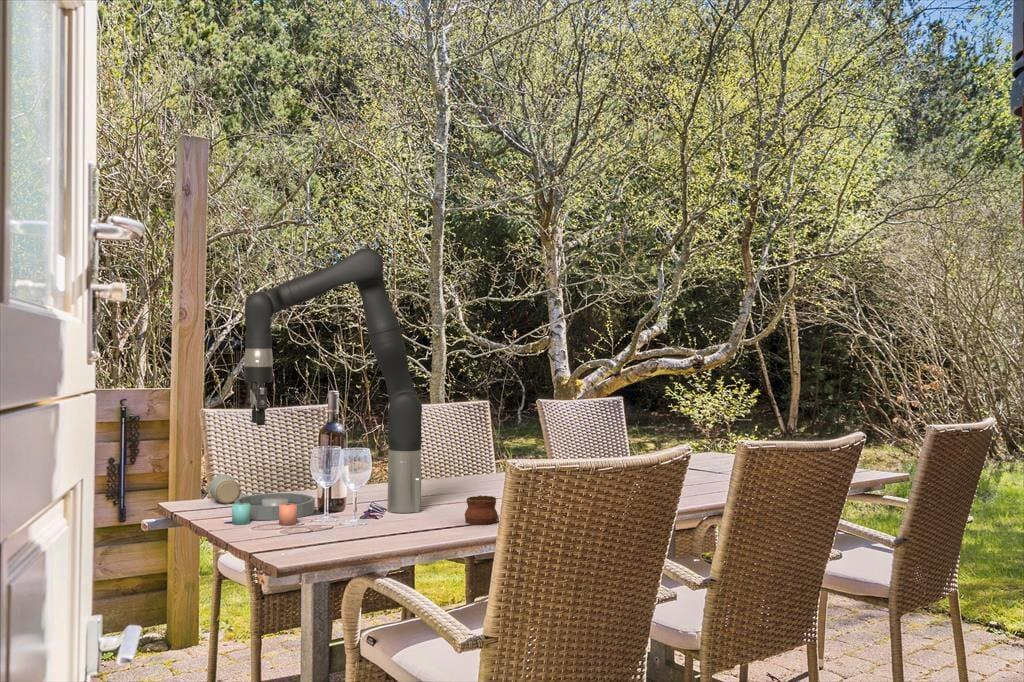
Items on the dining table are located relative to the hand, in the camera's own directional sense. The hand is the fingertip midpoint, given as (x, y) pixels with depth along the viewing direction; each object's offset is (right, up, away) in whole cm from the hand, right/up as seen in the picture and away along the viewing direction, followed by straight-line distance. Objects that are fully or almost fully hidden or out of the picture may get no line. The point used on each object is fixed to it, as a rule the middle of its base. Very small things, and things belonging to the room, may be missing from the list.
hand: (258, 424), depth 238 cm
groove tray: (+4, -24, +1) cm, 25 cm away
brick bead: (+12, -25, -14) cm, 31 cm away
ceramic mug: (-13, -25, +15) cm, 32 cm away
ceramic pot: (+62, -26, -8) cm, 67 cm away
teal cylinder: (0, -24, -14) cm, 28 cm away
